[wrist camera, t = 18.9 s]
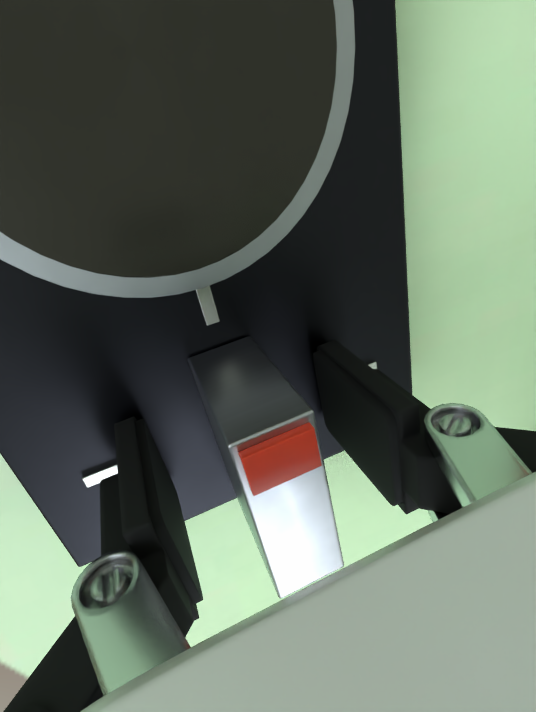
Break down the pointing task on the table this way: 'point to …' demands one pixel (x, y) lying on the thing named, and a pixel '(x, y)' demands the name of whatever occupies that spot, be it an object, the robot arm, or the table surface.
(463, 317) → the table surface
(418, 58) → the table surface
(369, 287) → the hot plate
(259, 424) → the hob knob
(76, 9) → the burner
